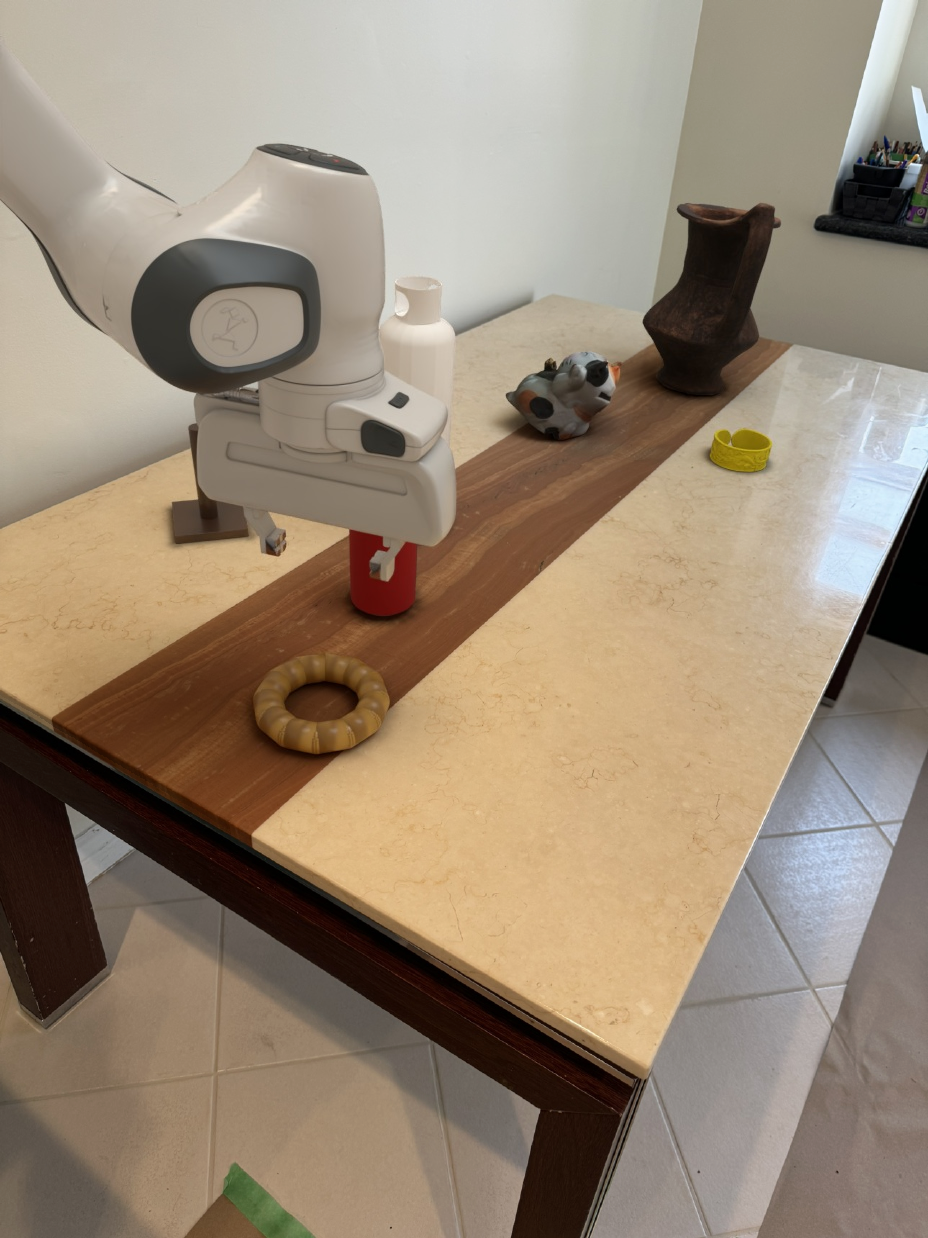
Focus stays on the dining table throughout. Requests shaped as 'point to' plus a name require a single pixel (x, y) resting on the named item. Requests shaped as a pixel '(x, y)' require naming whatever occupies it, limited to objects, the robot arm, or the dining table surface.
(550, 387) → the lucky cat figurine
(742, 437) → the bracelet
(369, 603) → the beverage can
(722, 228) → the jug
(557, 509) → the dining table surface
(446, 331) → the bottle
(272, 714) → the ring
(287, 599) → the dining table surface
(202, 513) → the post
